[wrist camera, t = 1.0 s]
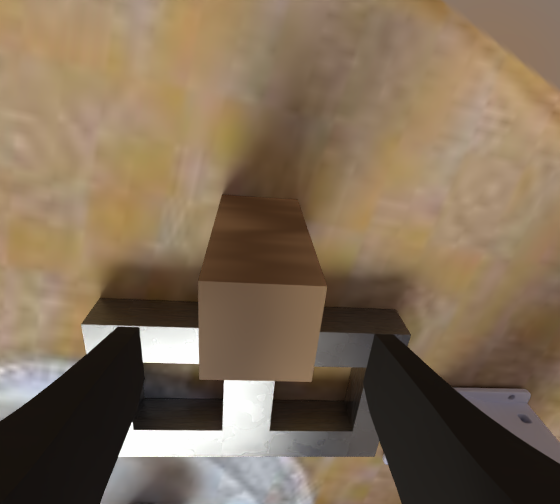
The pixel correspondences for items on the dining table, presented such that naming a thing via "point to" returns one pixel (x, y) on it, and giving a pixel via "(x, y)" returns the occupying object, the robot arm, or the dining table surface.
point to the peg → (259, 293)
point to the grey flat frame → (246, 389)
